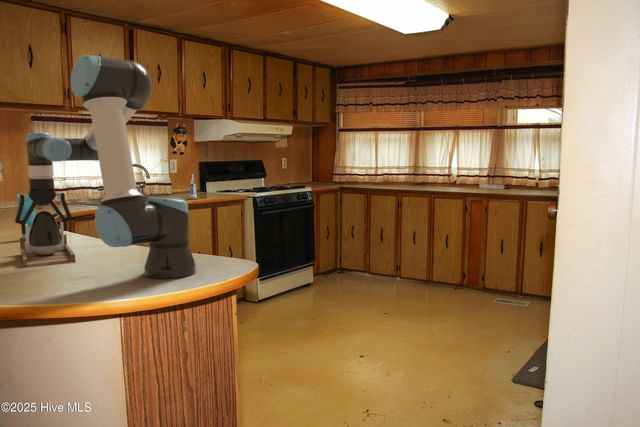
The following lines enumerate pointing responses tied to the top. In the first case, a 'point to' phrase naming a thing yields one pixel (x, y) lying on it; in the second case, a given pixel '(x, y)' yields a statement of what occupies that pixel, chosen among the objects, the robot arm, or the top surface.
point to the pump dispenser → (45, 234)
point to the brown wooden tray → (46, 256)
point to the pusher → (29, 250)
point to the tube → (24, 211)
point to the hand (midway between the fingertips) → (45, 241)
